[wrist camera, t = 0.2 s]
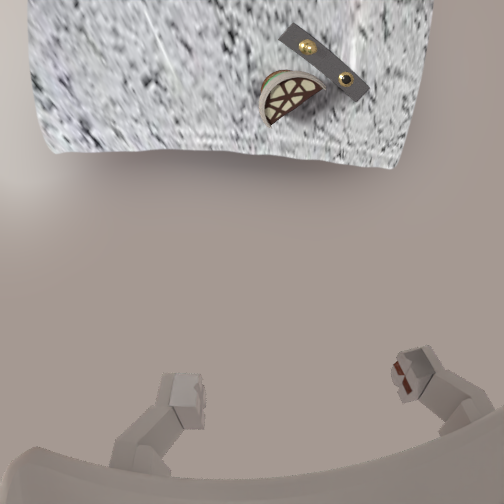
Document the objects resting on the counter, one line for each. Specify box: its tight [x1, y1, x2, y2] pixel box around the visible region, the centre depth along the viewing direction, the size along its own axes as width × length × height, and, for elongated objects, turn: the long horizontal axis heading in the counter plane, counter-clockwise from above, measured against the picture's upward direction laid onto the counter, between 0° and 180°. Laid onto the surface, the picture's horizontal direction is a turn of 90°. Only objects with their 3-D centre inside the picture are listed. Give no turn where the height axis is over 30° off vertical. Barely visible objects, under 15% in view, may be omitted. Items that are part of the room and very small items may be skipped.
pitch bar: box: [278, 23, 369, 102], centre depth 44 cm, size 4×20×4 cm, turn 54°
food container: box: [259, 70, 326, 128], centre depth 44 cm, size 12×6×10 cm, turn 130°
